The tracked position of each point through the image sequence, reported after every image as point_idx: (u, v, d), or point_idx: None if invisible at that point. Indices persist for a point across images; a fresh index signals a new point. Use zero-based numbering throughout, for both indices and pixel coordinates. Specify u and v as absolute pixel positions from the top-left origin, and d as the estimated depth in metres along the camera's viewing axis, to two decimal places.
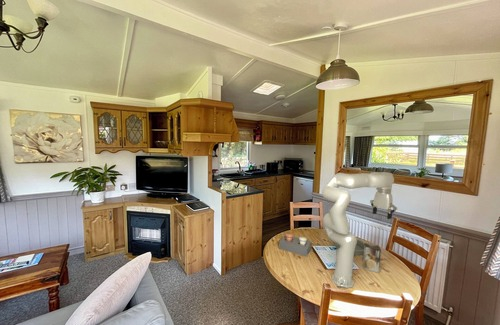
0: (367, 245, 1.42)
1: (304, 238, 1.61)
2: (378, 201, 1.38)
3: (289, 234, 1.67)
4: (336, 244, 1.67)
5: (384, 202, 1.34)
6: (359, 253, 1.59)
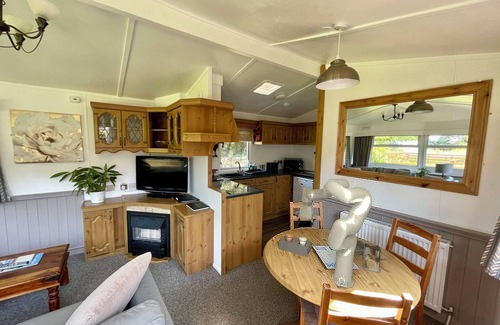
0: (367, 245, 1.42)
1: (304, 238, 1.61)
2: None
3: (289, 234, 1.67)
4: None
5: None
6: (359, 253, 1.59)
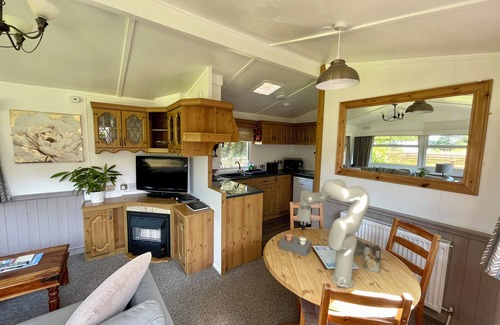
0: (367, 245, 1.42)
1: (304, 238, 1.61)
2: None
3: (289, 234, 1.67)
4: None
5: None
6: (359, 253, 1.59)
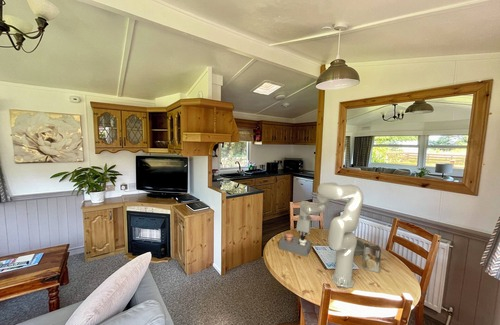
0: (367, 245, 1.42)
1: (304, 240, 1.61)
2: None
3: (289, 234, 1.67)
4: None
5: None
6: (359, 253, 1.59)
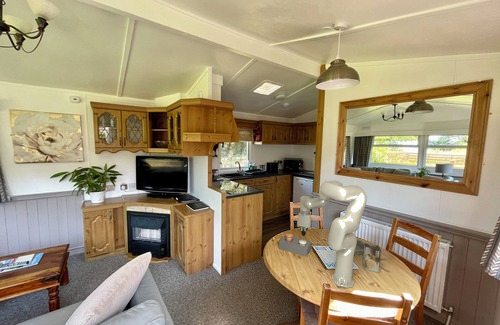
0: (367, 245, 1.42)
1: (304, 241, 1.62)
2: None
3: (289, 234, 1.67)
4: None
5: None
6: (359, 253, 1.59)
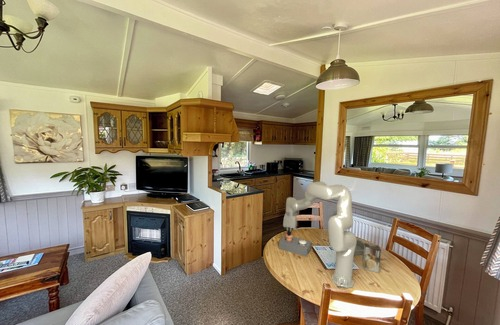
0: (367, 245, 1.42)
1: (304, 241, 1.62)
2: None
3: None
4: None
5: None
6: (359, 253, 1.59)
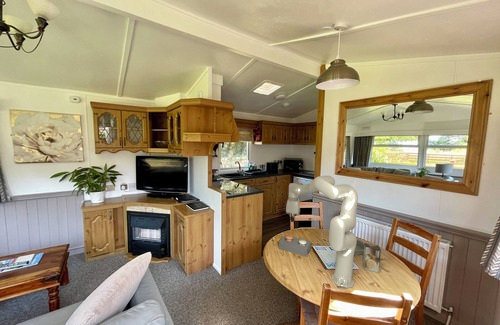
0: (367, 245, 1.42)
1: (304, 241, 1.62)
2: None
3: (289, 236, 1.68)
4: None
5: None
6: (359, 253, 1.59)
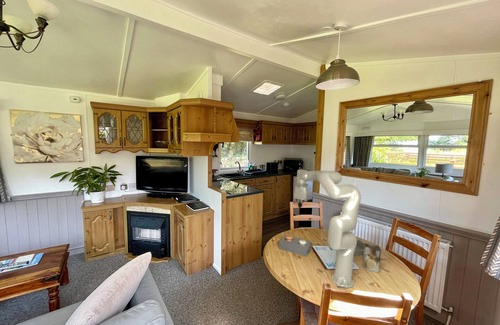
0: (367, 245, 1.42)
1: (304, 241, 1.62)
2: None
3: (289, 236, 1.68)
4: None
5: None
6: (359, 253, 1.59)
